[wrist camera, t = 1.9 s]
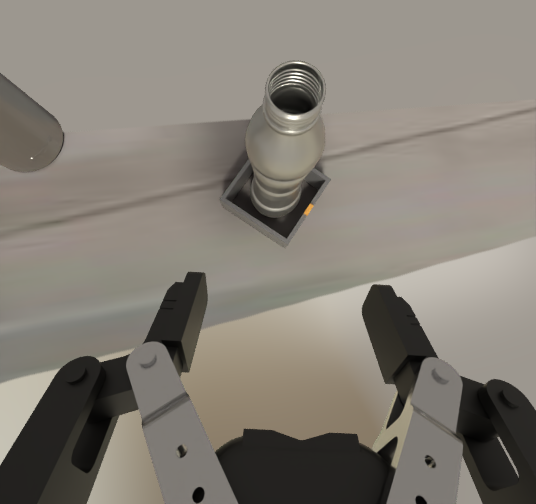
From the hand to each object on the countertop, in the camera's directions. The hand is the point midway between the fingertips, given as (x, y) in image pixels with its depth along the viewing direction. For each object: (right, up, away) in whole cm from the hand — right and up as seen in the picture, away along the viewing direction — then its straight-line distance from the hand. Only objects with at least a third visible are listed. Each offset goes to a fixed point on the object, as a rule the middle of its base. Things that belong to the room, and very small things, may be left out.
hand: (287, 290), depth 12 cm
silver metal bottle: (0, +9, +23) cm, 24 cm away
